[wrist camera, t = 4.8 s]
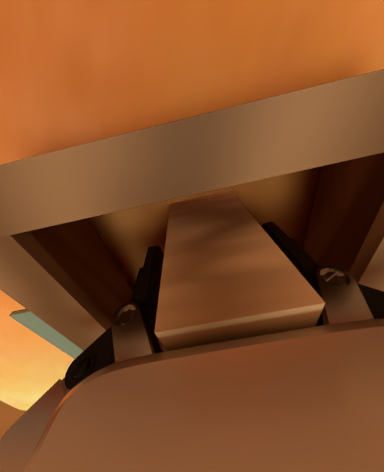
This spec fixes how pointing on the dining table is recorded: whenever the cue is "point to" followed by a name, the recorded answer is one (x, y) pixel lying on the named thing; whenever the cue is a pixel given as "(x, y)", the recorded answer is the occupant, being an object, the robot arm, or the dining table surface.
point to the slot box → (189, 183)
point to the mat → (46, 332)
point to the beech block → (226, 278)
